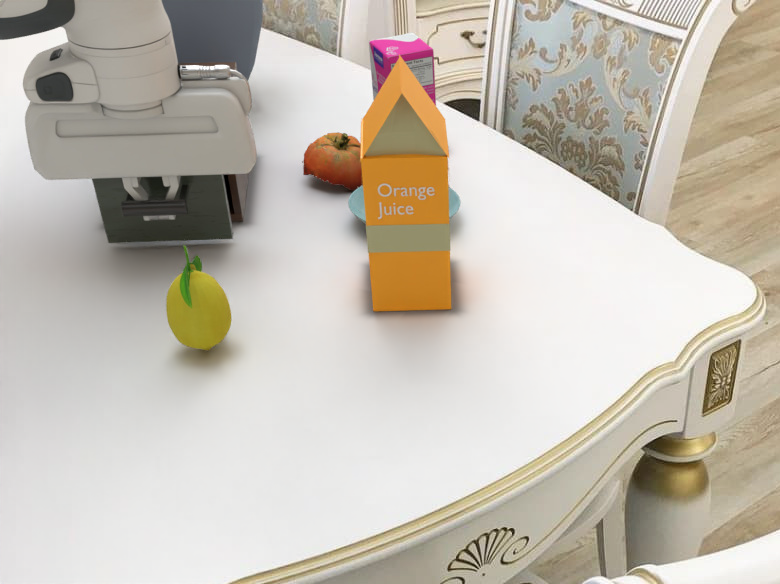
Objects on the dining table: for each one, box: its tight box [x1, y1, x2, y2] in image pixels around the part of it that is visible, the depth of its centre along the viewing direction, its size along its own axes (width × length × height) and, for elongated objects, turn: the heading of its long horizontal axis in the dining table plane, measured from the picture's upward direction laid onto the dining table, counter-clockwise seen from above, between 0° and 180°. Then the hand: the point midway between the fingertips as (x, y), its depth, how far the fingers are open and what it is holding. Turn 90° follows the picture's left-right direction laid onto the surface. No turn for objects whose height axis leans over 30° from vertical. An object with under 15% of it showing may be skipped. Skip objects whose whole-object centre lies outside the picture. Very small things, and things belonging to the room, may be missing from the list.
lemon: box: [165, 244, 232, 351], centre depth 97 cm, size 7×6×10 cm
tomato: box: [301, 132, 363, 191], centre depth 124 cm, size 8×7×7 cm
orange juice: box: [360, 55, 452, 312], centre depth 102 cm, size 8×9×20 cm
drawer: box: [91, 174, 234, 244], centre depth 113 cm, size 19×12×9 cm, turn 6°
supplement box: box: [368, 32, 437, 106], centre depth 127 cm, size 6×6×12 cm
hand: (160, 217), depth 108 cm, fingers closed
